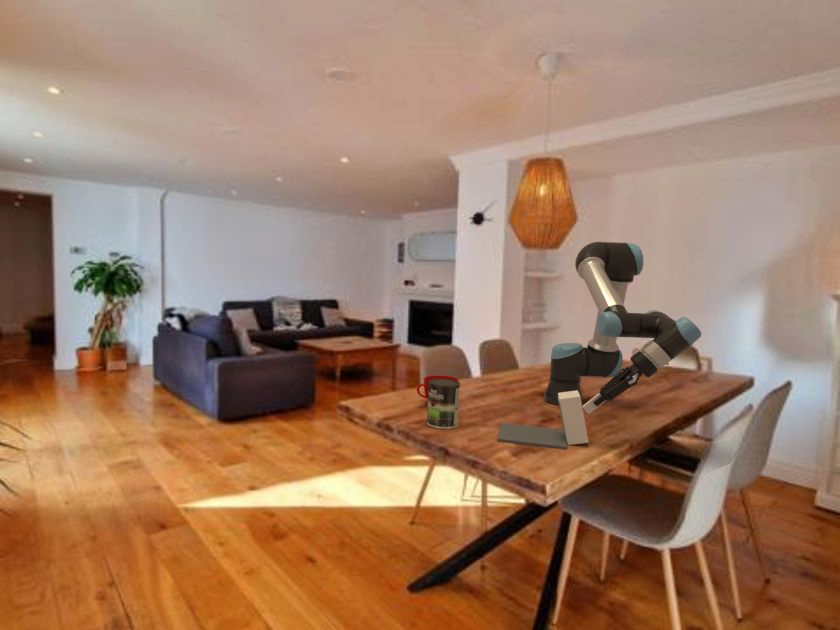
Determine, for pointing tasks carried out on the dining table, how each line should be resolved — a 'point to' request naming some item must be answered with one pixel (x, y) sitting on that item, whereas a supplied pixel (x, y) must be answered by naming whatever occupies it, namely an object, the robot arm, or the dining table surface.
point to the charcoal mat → (532, 436)
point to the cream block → (572, 417)
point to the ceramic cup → (426, 383)
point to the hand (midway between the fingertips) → (585, 410)
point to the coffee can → (443, 403)
